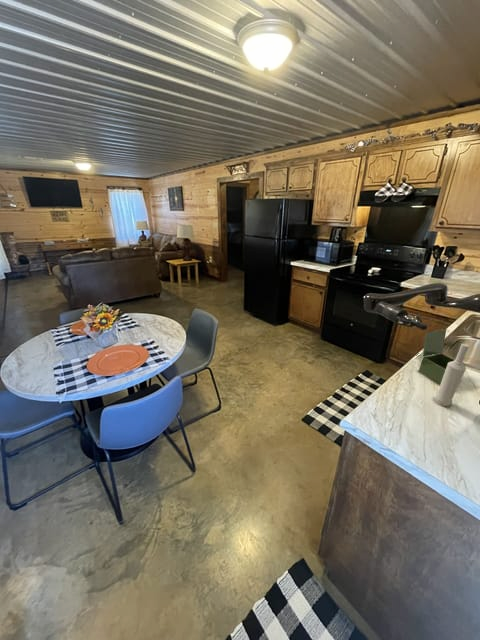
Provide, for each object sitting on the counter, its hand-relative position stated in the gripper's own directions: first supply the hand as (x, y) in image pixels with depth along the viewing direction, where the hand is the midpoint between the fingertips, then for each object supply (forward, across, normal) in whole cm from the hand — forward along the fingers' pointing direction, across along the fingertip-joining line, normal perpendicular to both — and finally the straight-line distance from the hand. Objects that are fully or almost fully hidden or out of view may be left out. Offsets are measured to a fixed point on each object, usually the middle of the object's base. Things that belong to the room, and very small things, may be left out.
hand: (425, 328), depth 118 cm
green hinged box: (+12, 0, -18) cm, 21 cm away
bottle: (+24, +14, -18) cm, 34 cm away
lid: (+6, 0, -5) cm, 7 cm away
